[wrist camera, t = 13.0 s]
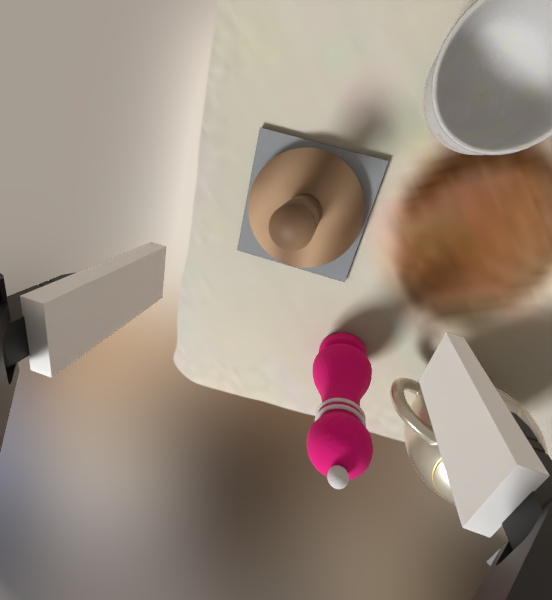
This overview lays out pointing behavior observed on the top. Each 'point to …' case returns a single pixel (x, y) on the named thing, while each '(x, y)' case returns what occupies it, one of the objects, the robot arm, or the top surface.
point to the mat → (362, 165)
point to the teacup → (493, 79)
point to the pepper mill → (340, 410)
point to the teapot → (423, 437)
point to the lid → (306, 207)
